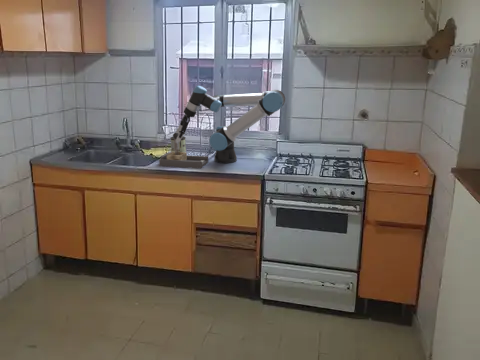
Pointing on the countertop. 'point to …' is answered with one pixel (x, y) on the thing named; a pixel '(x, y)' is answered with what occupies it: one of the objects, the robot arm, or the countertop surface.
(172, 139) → the coffee can
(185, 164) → the tray
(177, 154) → the wooden peg stand
